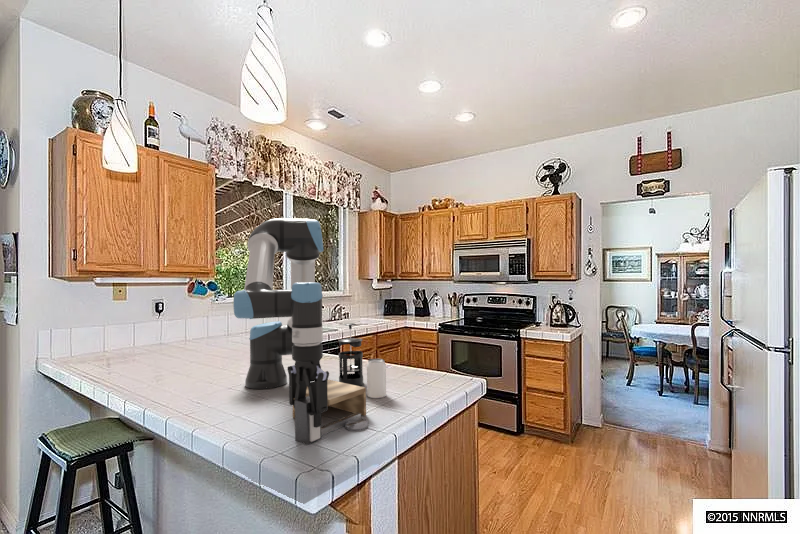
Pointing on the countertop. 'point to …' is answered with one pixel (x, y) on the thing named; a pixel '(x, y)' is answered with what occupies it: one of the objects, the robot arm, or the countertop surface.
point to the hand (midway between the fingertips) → (308, 436)
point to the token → (356, 424)
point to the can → (376, 378)
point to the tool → (304, 421)
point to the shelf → (345, 397)
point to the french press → (354, 377)
